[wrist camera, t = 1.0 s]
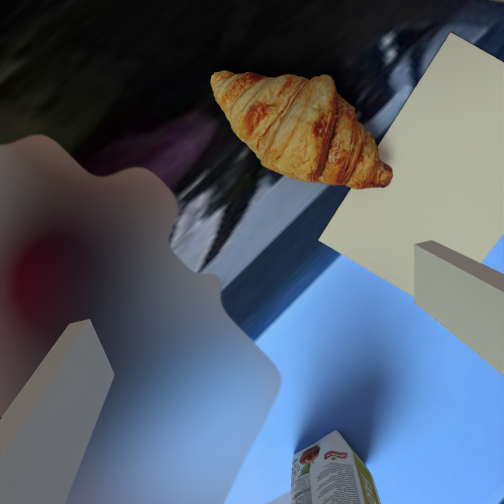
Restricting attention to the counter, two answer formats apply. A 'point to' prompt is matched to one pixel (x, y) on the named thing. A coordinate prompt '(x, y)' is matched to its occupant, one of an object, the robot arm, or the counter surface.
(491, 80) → the mat
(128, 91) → the counter surface
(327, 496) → the juice carton
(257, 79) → the croissant
